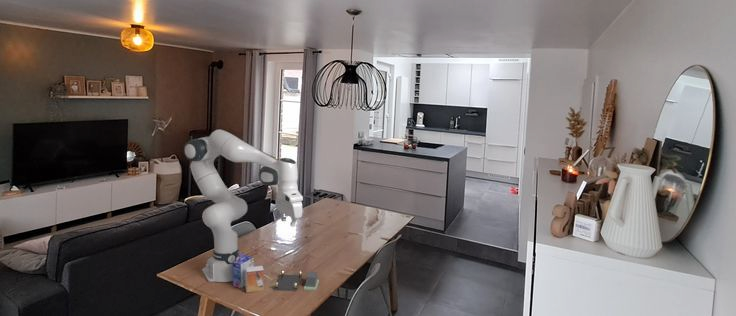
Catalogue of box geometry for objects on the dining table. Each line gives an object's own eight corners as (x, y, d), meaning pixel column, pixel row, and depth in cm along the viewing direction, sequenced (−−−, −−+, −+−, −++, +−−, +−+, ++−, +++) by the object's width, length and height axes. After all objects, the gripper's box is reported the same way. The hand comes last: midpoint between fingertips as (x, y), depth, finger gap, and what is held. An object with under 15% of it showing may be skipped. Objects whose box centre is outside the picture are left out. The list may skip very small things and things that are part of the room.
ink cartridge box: (245, 277, 209) (245, 250, 206) (254, 280, 207) (254, 252, 204) (232, 286, 200) (231, 257, 197) (241, 288, 198) (241, 259, 195)
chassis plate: (274, 289, 198) (274, 283, 197) (281, 276, 212) (281, 269, 212) (296, 291, 198) (296, 284, 197) (302, 277, 212) (302, 270, 212)
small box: (246, 293, 194) (246, 271, 192) (245, 287, 199) (245, 267, 197) (264, 290, 197) (264, 269, 195) (262, 285, 202) (262, 265, 200)
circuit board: (303, 289, 200) (303, 278, 199) (307, 280, 209) (307, 269, 209) (316, 290, 199) (316, 279, 199) (319, 281, 209) (319, 270, 208)
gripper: (271, 190, 195) (272, 219, 197) (291, 199, 178) (292, 230, 181) (284, 188, 198) (284, 216, 200) (304, 197, 182) (304, 228, 184)
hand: (288, 223), depth 190 cm, fingers open, 8 cm apart
